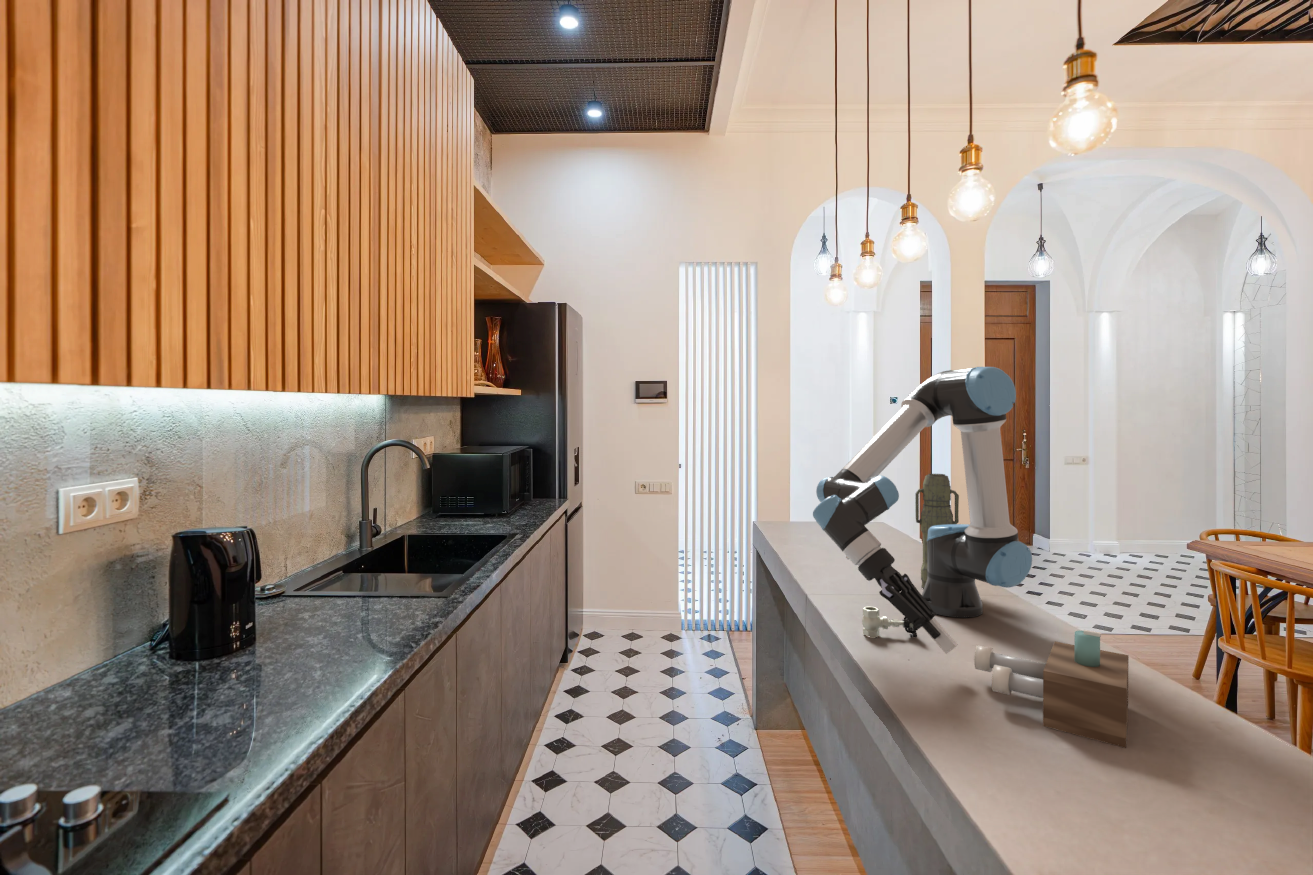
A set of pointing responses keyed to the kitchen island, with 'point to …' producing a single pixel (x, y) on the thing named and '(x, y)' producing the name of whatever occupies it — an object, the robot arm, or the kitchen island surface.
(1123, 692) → the mount
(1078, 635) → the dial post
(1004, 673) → the knob
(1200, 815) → the kitchen island surface
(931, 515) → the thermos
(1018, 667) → the knob
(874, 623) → the valve
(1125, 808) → the kitchen island surface
